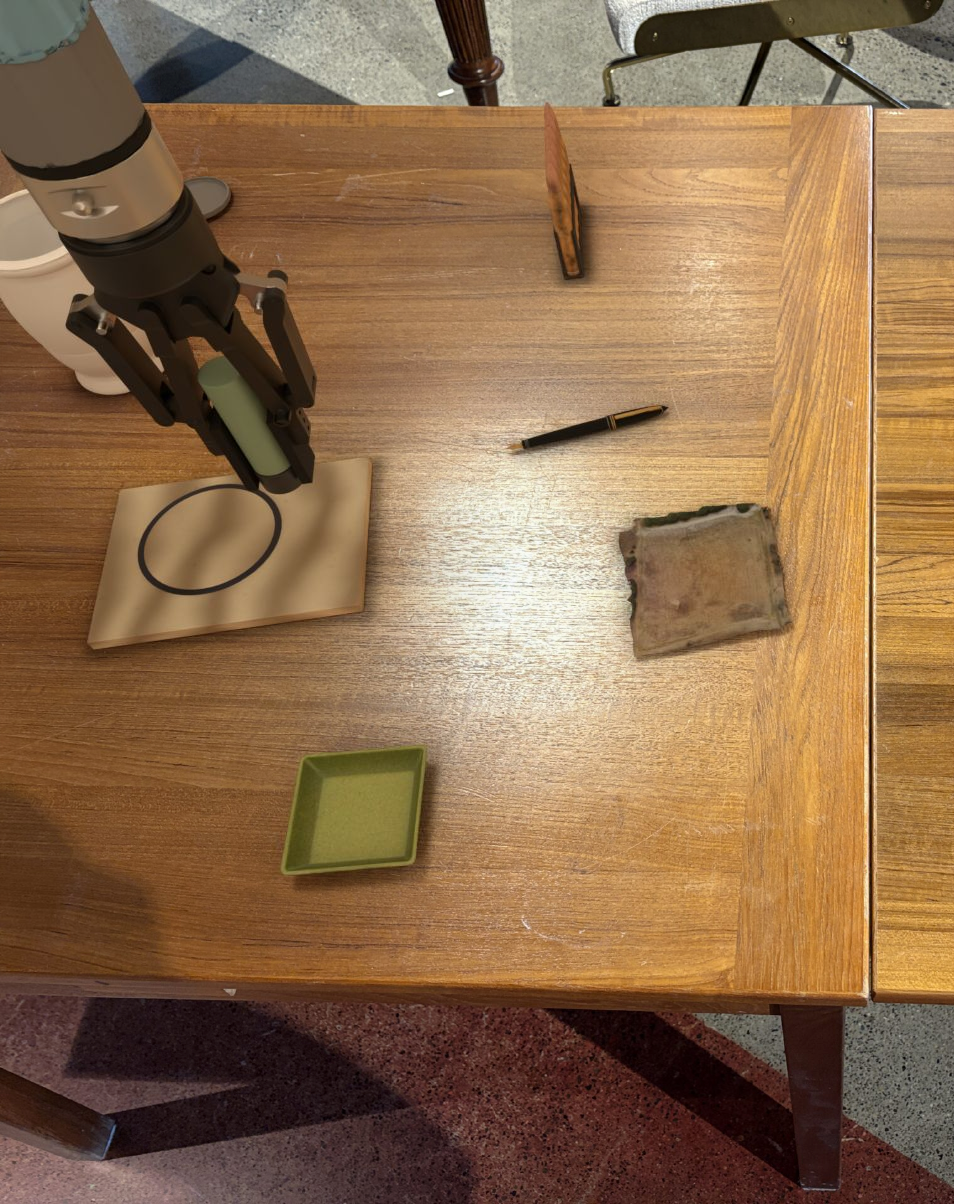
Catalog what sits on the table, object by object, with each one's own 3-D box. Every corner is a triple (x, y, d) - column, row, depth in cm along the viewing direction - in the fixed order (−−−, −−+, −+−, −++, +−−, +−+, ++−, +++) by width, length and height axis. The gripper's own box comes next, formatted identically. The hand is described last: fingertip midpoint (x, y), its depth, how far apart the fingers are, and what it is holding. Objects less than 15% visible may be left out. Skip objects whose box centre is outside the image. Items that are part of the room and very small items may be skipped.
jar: (62, 341, 106) (-40, 203, 93) (179, 309, 108) (94, 169, 96) (70, 420, 100) (-38, 284, 88) (193, 384, 102) (105, 246, 90)
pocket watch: (242, 209, 116) (197, 119, 108) (159, 241, 113) (106, 151, 105) (215, 168, 120) (170, 78, 112) (134, 199, 117) (81, 108, 109)
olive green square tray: (423, 876, 77) (414, 864, 75) (290, 887, 76) (278, 875, 75) (436, 757, 81) (427, 743, 80) (311, 767, 81) (300, 754, 79)
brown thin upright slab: (561, 208, 115) (536, 97, 105) (580, 206, 115) (556, 95, 105) (564, 279, 109) (537, 169, 99) (583, 277, 109) (559, 167, 99)
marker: (260, 497, 85) (192, 391, 76) (264, 465, 87) (198, 357, 78) (304, 491, 85) (241, 384, 76) (308, 459, 87) (247, 351, 78)
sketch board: (93, 649, 87) (85, 642, 86) (126, 497, 95) (119, 488, 94) (363, 611, 88) (358, 603, 88) (372, 464, 97) (368, 455, 96)
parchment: (769, 501, 94) (768, 493, 93) (796, 635, 86) (796, 628, 86) (616, 524, 93) (615, 516, 92) (631, 661, 85) (629, 654, 85)
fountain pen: (505, 460, 97) (501, 448, 96) (503, 450, 97) (499, 438, 96) (671, 417, 99) (669, 404, 98) (667, 407, 100) (666, 395, 99)
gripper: (-43, 266, 64) (161, 528, 83) (259, 230, 65) (391, 497, 84) (-11, 182, 68) (176, 450, 87) (271, 150, 69) (394, 421, 88)
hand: (281, 472), depth 86 cm, fingers closed on marker, 3 cm apart
